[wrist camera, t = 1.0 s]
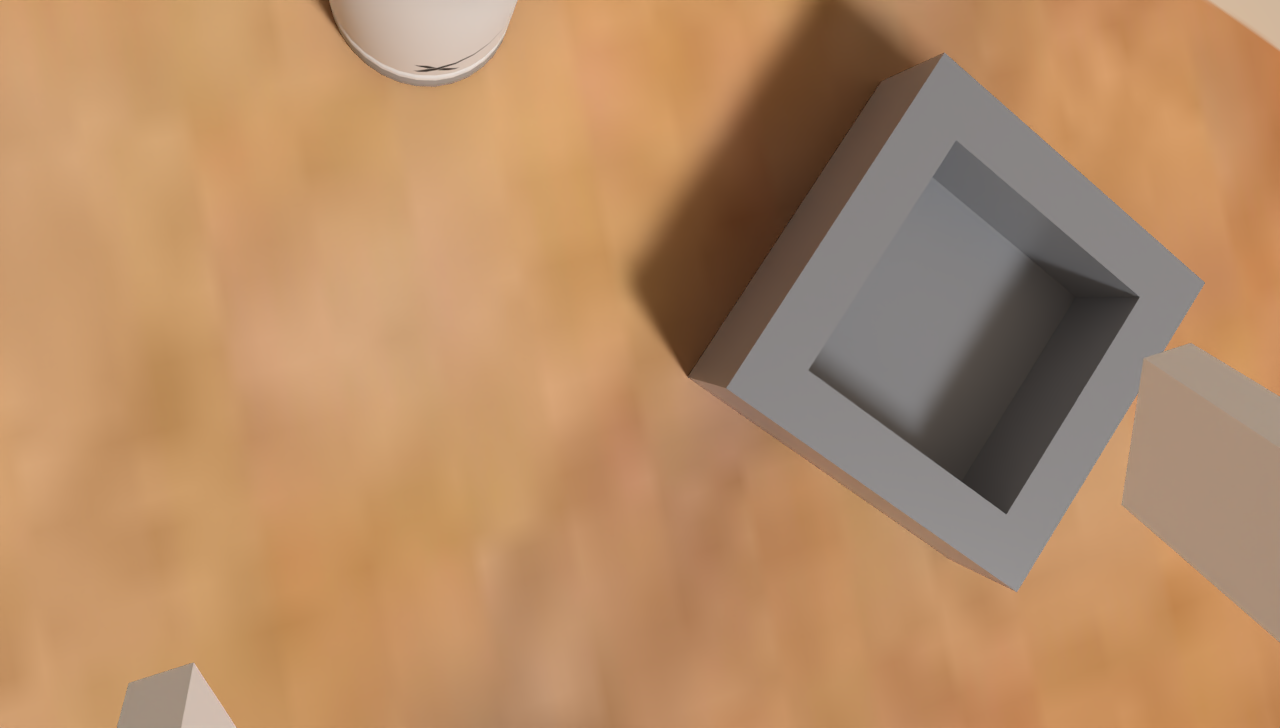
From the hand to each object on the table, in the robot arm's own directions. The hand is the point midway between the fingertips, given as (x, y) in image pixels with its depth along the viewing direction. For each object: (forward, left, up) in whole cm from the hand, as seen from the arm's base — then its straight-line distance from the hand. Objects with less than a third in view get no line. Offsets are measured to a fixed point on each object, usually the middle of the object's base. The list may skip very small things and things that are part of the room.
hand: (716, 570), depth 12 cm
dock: (+12, +11, -23) cm, 28 cm away
